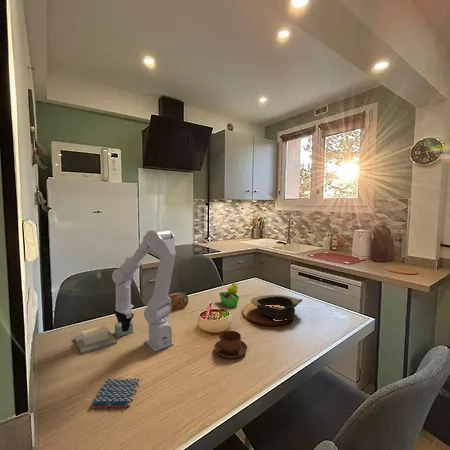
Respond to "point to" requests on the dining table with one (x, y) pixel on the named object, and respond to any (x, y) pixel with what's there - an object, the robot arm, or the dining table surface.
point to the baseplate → (95, 345)
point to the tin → (178, 301)
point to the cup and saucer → (230, 345)
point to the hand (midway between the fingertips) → (123, 329)
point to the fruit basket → (230, 296)
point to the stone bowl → (276, 311)
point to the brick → (120, 332)
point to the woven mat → (116, 393)
